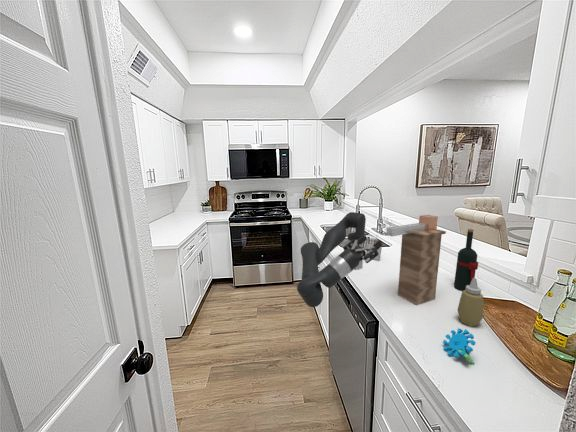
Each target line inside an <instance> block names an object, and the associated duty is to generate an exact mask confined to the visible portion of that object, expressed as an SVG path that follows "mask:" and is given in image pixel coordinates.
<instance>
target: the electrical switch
mask: <svg viewBox="0 0 576 432" xmlns="http://www.w3.org/2000/svg"><path fill="white" fill-rule="evenodd" d="M373 245H374V244H369V243H368V244H367V245H366V247H372V246H373ZM365 251H366V250H365ZM369 251H372V250H369ZM377 251H378V254H379V255H378V256H376V257H375V258H374V261H377V260H378V262H379V261H380V260H381V255H382V246H381V247H380V248H379V249H378V250H377ZM366 254H367V251H366ZM374 254H375V253H373V255H374Z"/></svg>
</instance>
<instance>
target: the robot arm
mask: <svg viewBox="0 0 576 432" xmlns="http://www.w3.org/2000/svg"><path fill="white" fill-rule="evenodd" d="M366 219H367V218H366V215H365V214H364V213H363V212H354V211H353V212H352V211H351V212H348V213H347V214H346V215H345V216H344V217H343V218H342V219H341V220H340V221H339V222H338V223H336V224H335V225H333V227H331V228H330V229H329V230H327V231H326V232H325V234H324V236H323V238H322V241H321V244H320V246H319V245H318V243H316V242H314V241H310V242H306V243H304V244H303V245H301V247H300V255H301V259H302V269H301V270H302V272H301V280H300V281H299V282H298V283H297V286H296V290H297V292H298V294H299V295H300V297H301V298H302V300H303V301H304V302H305V305H307V306H308V307H310V308H316V307H319V305H321V303H322V302H323V300H324V292H323V288H322V284H323V286H325V287H326V288H328V289H329V288H333V286H335V285H336V284H337V283H338V282H340V281H341V280H342V279H343V278H345V277H347V276H348V275H349V274H350V273H351V272H353V271H354V270H360V269H359V268H361V269H362V268H363V263H364V262H365V264H369V263H371V261H373V259H374V258H375V257H376V256H378V255H379V254H378V251H377V250H378V249H379V248H380V247H381V248H382V247H383V243H382V241H381V240H378V241H376V242H375V243H374V244H372V245H373V246H372V247H367V246H364V242H365V241H367V240H368V238H367V236H366V235H365V230H366V223H367V222H366V221H367V220H366ZM350 228H351V229H355V231H354V232H351V233H348V234H347V229H350ZM346 237H347V243H346V244H345V245H344V246H343V247H342V249H343V251H342V252H341V253H339V254H338V255H337V256H336V257H334V258H333V259H332V260H331V261H330V262H329V263H328V264H327V265H326V266H324V267H323V268H322V269H321V270H320V269H319V265H321V263H323V261H325V260H326V258H327V257H328V256H329V255H330V253H332V251H333V250H335V248H337V247H338V246H339V245H341V244H342V243H343V242H344V241H345V239H346ZM369 250H372V251H369ZM366 251H367V254H366ZM373 253H375V254H374V255H373ZM363 261H364V262H363Z"/></svg>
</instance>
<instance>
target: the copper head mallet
mask: <svg viewBox="0 0 576 432" xmlns="http://www.w3.org/2000/svg"><path fill="white" fill-rule="evenodd" d="M438 218H439V217H438V216H436V215H431V214H422V215H421V214H420V215H419V219H418V222H416V223H409V224H404V225H395V226H390V227H389V226H387V227H386V232H385V233H386V234H385V235H387V236H388V237H396V236H402V235H403V234H410V233H416V232H422V231H433V230H437V229H438V227H437V226H438Z"/></svg>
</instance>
